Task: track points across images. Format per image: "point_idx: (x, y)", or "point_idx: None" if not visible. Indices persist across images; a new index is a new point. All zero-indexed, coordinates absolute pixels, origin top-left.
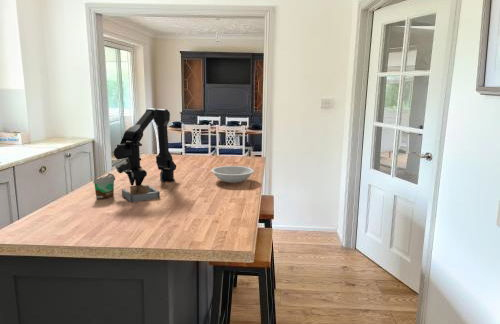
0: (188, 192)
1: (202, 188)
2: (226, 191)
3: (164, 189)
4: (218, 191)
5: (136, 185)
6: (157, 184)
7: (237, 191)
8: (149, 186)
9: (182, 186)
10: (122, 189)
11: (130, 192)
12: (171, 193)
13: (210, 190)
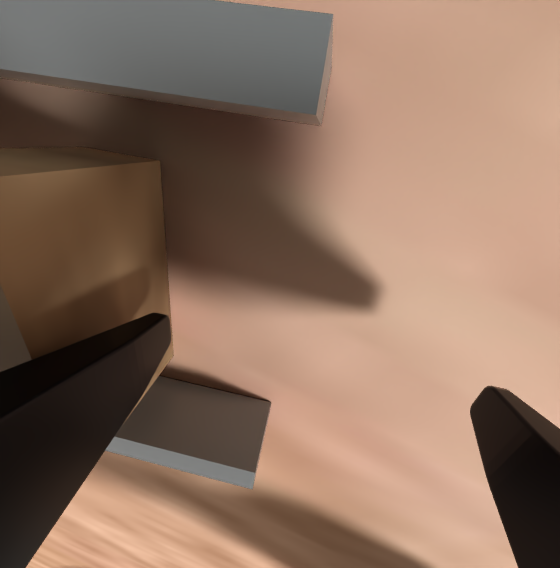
0: (95, 502)
1: (144, 556)
2: (58, 553)
3: (239, 490)
4: (67, 547)
5: (26, 344)
6: (421, 544)
7: (46, 562)
8: (190, 464)
9: (239, 555)
10: (248, 5)
11: (112, 165)
12: (109, 456)
13: (95, 547)
